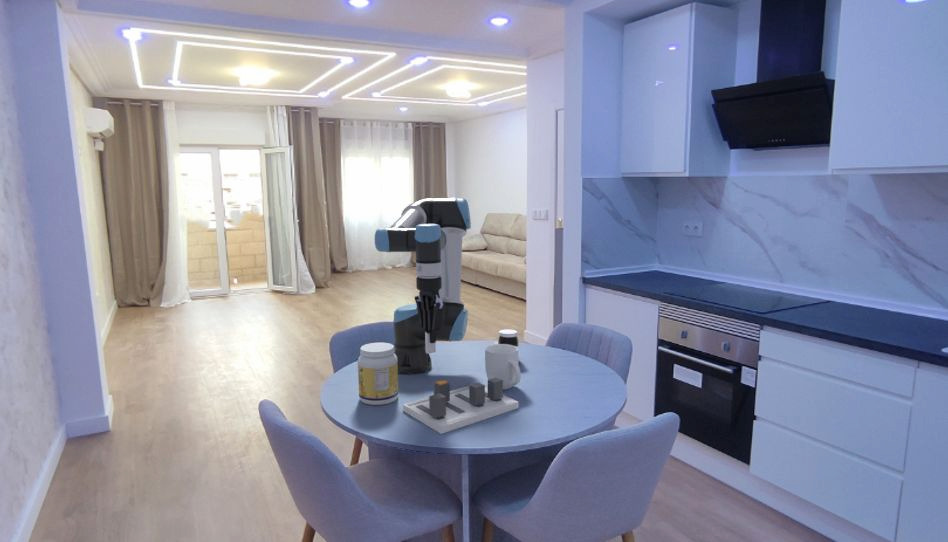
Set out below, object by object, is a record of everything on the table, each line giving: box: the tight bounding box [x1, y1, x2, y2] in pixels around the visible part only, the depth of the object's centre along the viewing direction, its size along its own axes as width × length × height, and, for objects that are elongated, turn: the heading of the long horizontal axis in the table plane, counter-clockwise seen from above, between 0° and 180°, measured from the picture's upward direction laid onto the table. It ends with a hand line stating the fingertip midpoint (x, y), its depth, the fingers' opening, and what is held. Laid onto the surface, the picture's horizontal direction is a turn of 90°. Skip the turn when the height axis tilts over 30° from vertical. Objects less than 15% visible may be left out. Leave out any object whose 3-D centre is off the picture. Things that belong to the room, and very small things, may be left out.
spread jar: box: [492, 329, 519, 349], centre depth 210 cm, size 12×11×12 cm
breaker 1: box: [433, 379, 451, 402], centre depth 164 cm, size 3×4×6 cm
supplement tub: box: [357, 342, 399, 406], centre depth 171 cm, size 12×12×17 cm
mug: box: [484, 343, 522, 391], centre depth 180 cm, size 15×11×13 cm
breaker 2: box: [429, 393, 446, 418], centre depth 153 cm, size 3×4×6 cm
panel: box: [402, 385, 519, 435], centre depth 163 cm, size 20×28×2 cm
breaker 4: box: [487, 377, 504, 400], centre depth 166 cm, size 3×4×6 cm
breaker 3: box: [468, 382, 486, 406], centre depth 162 cm, size 3×4×6 cm
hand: (430, 352), depth 167 cm, fingers closed
